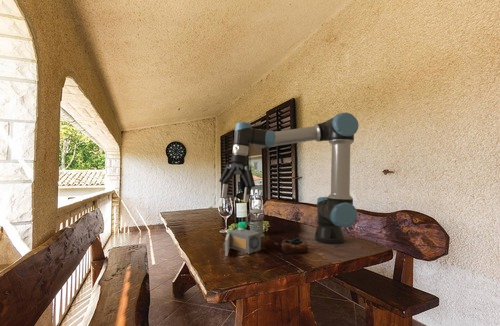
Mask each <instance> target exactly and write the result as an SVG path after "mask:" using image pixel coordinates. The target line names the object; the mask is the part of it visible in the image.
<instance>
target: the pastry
mask: <svg viewBox="0 0 500 326" xmlns="http://www.w3.org/2000/svg"><path fill="white" fill-rule="evenodd" d="M280 247H281V251H282V252H283V253H285V254H286V255H298V254H299V255H301V254H308V250H309V247H308V245H307V243H306V242H304V241H303V240H302V239H300V238H298V237H296V238H295V237H294V239H288V238H287V239H286V238H285V239H283V240H282V242H281V246H280Z"/></svg>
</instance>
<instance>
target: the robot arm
mask: <svg viewBox="0 0 500 326" xmlns="http://www.w3.org/2000/svg"><path fill="white" fill-rule="evenodd" d="M359 126H360V125H359V121H358V119H357V118H356V117H355V116H354V115H353V114H352V113H350V112H340V113H337V114H335V115H334V116H333V117H332V118H329V119H328V120H325V121H323V122H320V123H315V124H314V125H313V126H306V127H298V128H293V129H286V130H280V131H273V130H269V129H268V130H267V129H260V128H253V127H252V124H251V123H250V122H244V121H239V122H237V123H236V124H235V129H234V133H233V134H234V135H233V136H234V137H233V144H232V151H231V152H232V154H231V160H230V162H231V164H229V163H226V165H225V169H224V171H223V172H222V174H221V176H220V179H219V180H218V181H219V182H220V183H221V198H224V199H225V198H227V196H228V188H229V184H228V182H229V181H230V180H231V179H232V178H233V177H234V175H238V176H239V175H240V176H241V178H242V180H243V182H244V184H245V187H244V191H243V192H244V193H243V202H244V203H249V197H250V195H251V192H252V191H251V190H252V188H254V187H256V184H255V183H256V182H255V179H254V175H253V172H252V166H251V165H247V163H248V155H249V147H250V145H253V147H254V148H255V149H259V150H260V149H261V150H262V149H264V148H265V149H266V148H272V147H279V146H285V145H290V144H298V143H306V142H311V141H316V142H317V143H318V142H319V143H320V142H328V143H329V144H330V145H331V159H330V160H331V161H330V162H331V163H330V165H331V166H330V174H331V175H330V194H329V195H328V196H321V197H317V200H316V209H317V227H316V230H315V233H314V240H315V241H316V242H318V243H323V244H330V245H332V244H333V245H335V244H336V245H337V244H343V243H344V242H345V235H344V232H343V229H342V228H348V227H350V226H352V225H353V224H355V222H356V220H357V218H358V210H357V209H356V207H355V206H354V198H353V196H352V195H350V194H351V193H350V187H351V184H350V183H351V145H352V144H353V143H354V142H355V134H357V132H358V130H359Z"/></svg>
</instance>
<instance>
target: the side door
mask: <svg viewBox="0 0 500 326" xmlns="http://www.w3.org/2000/svg"><path fill="white" fill-rule="evenodd" d="M230 249H231V248H230V233H229V232H227V233H226V237H225V238H224V242H223V251H224V254H225V255H224V256H225V257H228V254H229V252H230Z"/></svg>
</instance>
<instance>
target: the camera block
mask: <svg viewBox="0 0 500 326" xmlns="http://www.w3.org/2000/svg"><path fill="white" fill-rule="evenodd" d="M228 233H230V249H232V250H235V251H238V252H242V253H245V254H247V253H248V255H251V254H253V252H254V253H256V252H258V251H261V250H262V242H261V241H262V240H261V238H262V237H261V233H259V232H254V231H250V229H246V230H245V229H243V228H239V229H238V228H237V229H233V230H232V229H231V230H229V231H228ZM250 253H251V254H250Z"/></svg>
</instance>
